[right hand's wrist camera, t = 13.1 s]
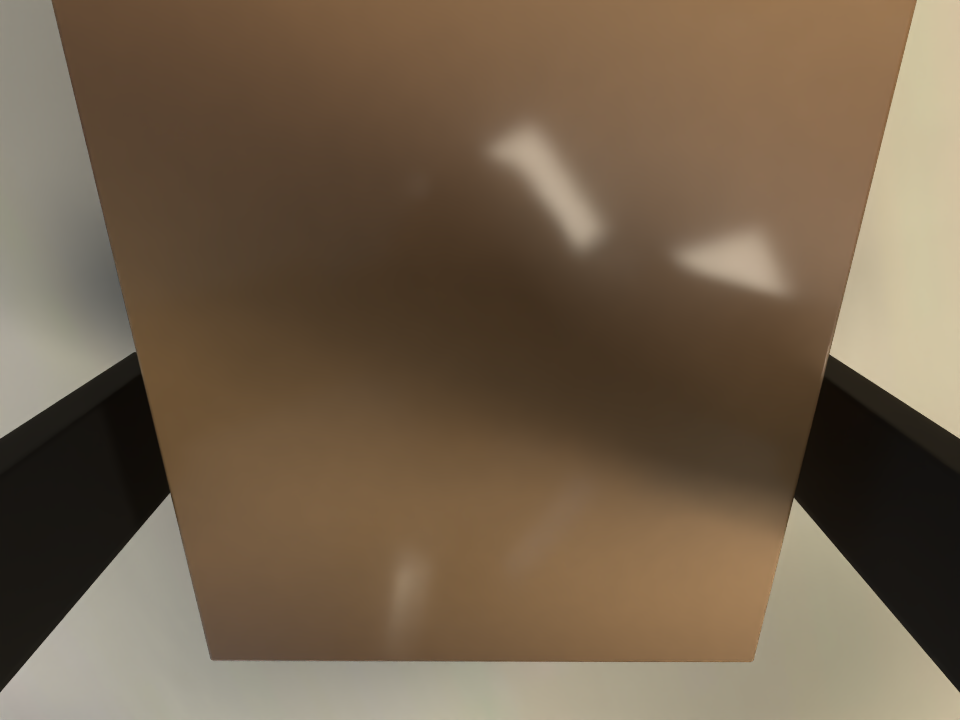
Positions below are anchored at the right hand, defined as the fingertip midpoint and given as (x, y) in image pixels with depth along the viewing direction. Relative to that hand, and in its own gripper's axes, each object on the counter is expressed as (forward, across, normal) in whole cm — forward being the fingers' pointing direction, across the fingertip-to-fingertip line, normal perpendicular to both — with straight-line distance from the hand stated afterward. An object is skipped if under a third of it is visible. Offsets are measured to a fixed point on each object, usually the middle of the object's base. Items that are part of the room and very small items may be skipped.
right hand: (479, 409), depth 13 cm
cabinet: (+5, 0, -6) cm, 8 cm away
